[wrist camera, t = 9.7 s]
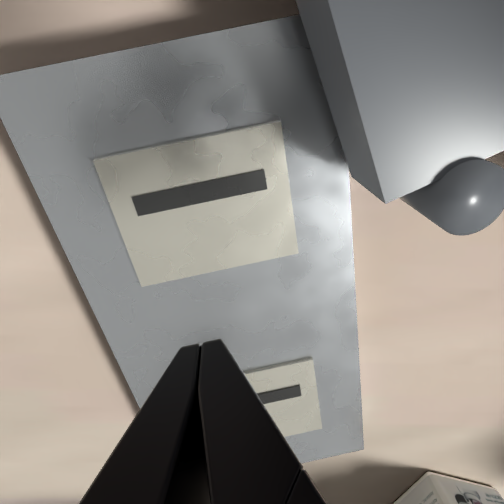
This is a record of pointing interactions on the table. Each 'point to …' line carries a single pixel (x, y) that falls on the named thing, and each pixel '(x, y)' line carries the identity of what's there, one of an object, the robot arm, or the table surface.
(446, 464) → the table surface
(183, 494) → the robot arm
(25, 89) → the panel
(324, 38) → the swing bar
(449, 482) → the container
